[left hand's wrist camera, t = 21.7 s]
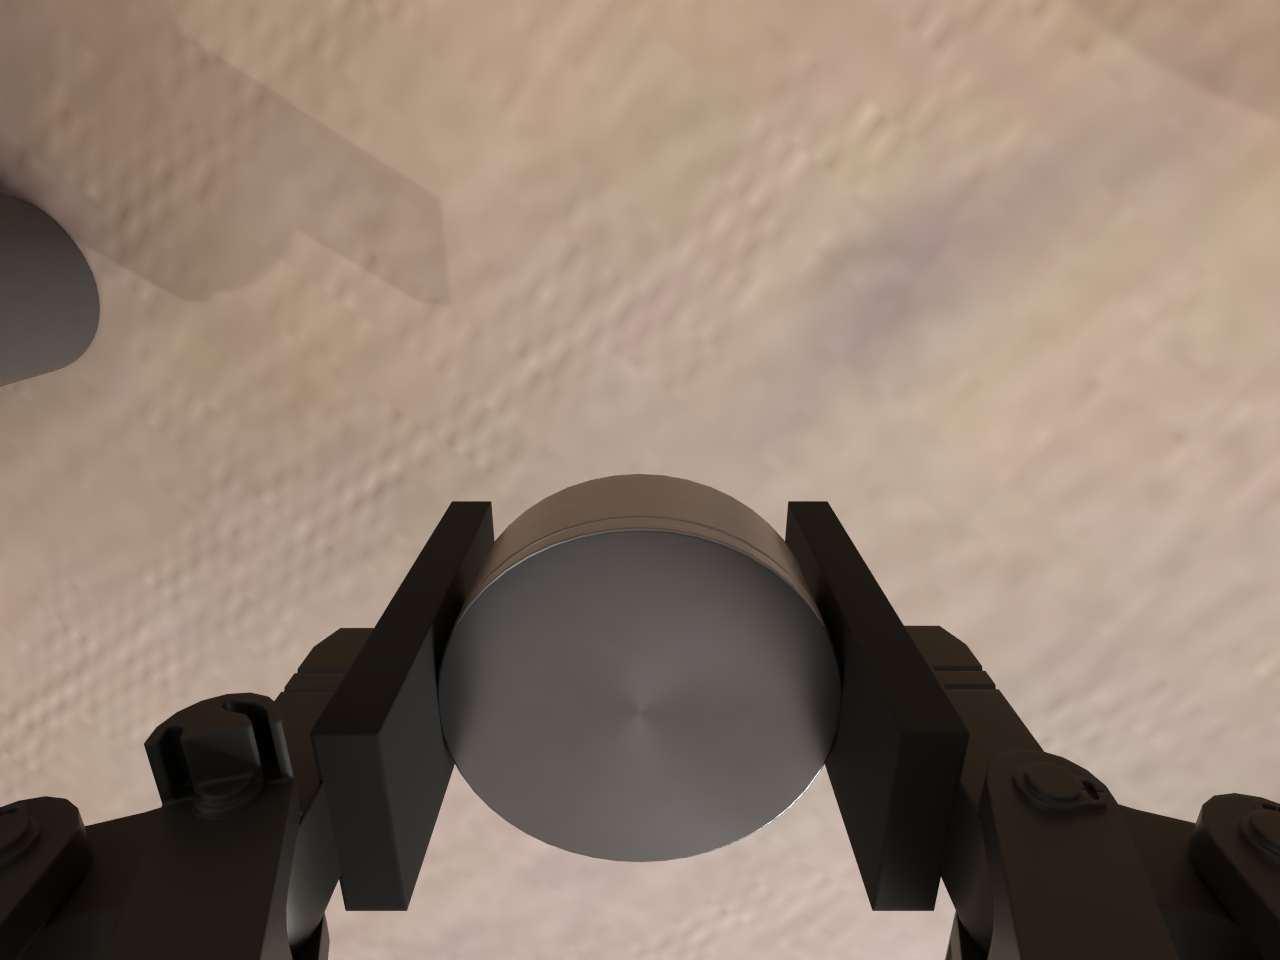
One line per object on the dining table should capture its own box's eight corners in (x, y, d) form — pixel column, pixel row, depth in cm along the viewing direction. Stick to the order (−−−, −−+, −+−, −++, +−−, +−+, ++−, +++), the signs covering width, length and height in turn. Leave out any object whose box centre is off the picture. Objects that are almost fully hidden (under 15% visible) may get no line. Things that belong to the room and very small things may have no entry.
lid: (847, 496, 11) (888, 555, 9) (775, 783, 13) (797, 879, 12) (475, 452, 11) (441, 504, 9) (461, 752, 13) (431, 845, 11)
